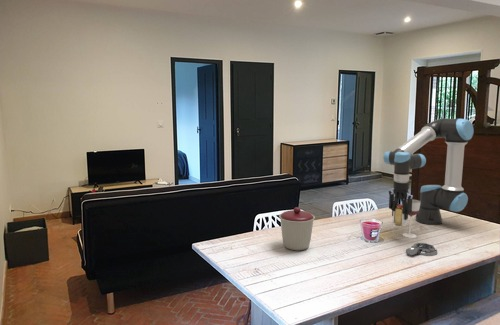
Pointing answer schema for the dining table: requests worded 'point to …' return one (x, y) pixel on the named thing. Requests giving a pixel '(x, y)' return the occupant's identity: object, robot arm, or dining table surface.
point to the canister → (296, 228)
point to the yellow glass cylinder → (398, 214)
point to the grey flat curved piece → (421, 249)
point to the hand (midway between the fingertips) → (399, 223)
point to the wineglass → (414, 211)
